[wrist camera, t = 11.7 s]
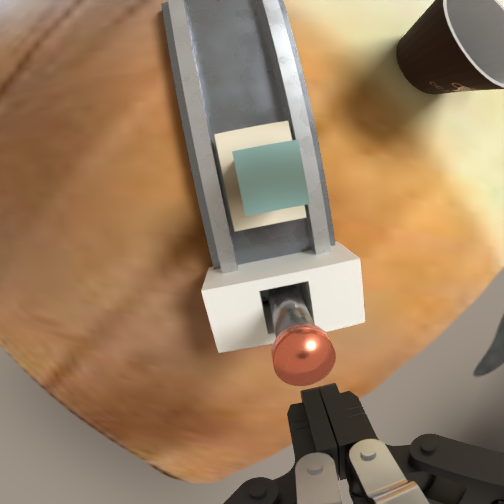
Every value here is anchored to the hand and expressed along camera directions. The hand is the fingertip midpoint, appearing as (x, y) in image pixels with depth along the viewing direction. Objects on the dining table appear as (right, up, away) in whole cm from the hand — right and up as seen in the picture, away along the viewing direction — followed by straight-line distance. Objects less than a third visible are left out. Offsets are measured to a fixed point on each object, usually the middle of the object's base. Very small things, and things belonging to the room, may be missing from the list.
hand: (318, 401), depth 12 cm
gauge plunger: (0, +3, +12) cm, 12 cm away
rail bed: (-3, +16, +12) cm, 20 cm away
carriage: (-2, +12, +11) cm, 17 cm away
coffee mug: (+15, +24, +11) cm, 30 cm away
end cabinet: (-1, +4, +15) cm, 15 cm away
